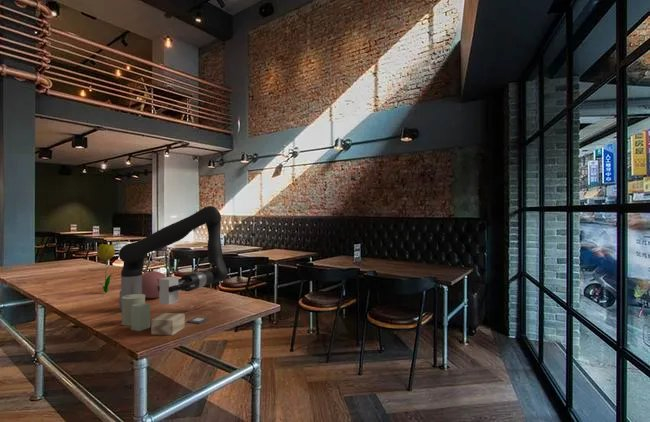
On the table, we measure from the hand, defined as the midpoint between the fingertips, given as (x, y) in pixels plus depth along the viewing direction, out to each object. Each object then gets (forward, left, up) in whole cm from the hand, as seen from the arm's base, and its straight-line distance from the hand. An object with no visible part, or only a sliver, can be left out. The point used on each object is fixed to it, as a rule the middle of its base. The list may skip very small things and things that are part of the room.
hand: (164, 289), depth 135 cm
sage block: (-13, +1, -18) cm, 22 cm away
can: (-23, +6, -18) cm, 30 cm away
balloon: (-48, +41, -18) cm, 65 cm away
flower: (-86, +40, -18) cm, 96 cm away
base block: (0, +3, -18) cm, 18 cm away
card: (+3, +17, -18) cm, 24 cm away
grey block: (0, +3, -6) cm, 7 cm away
